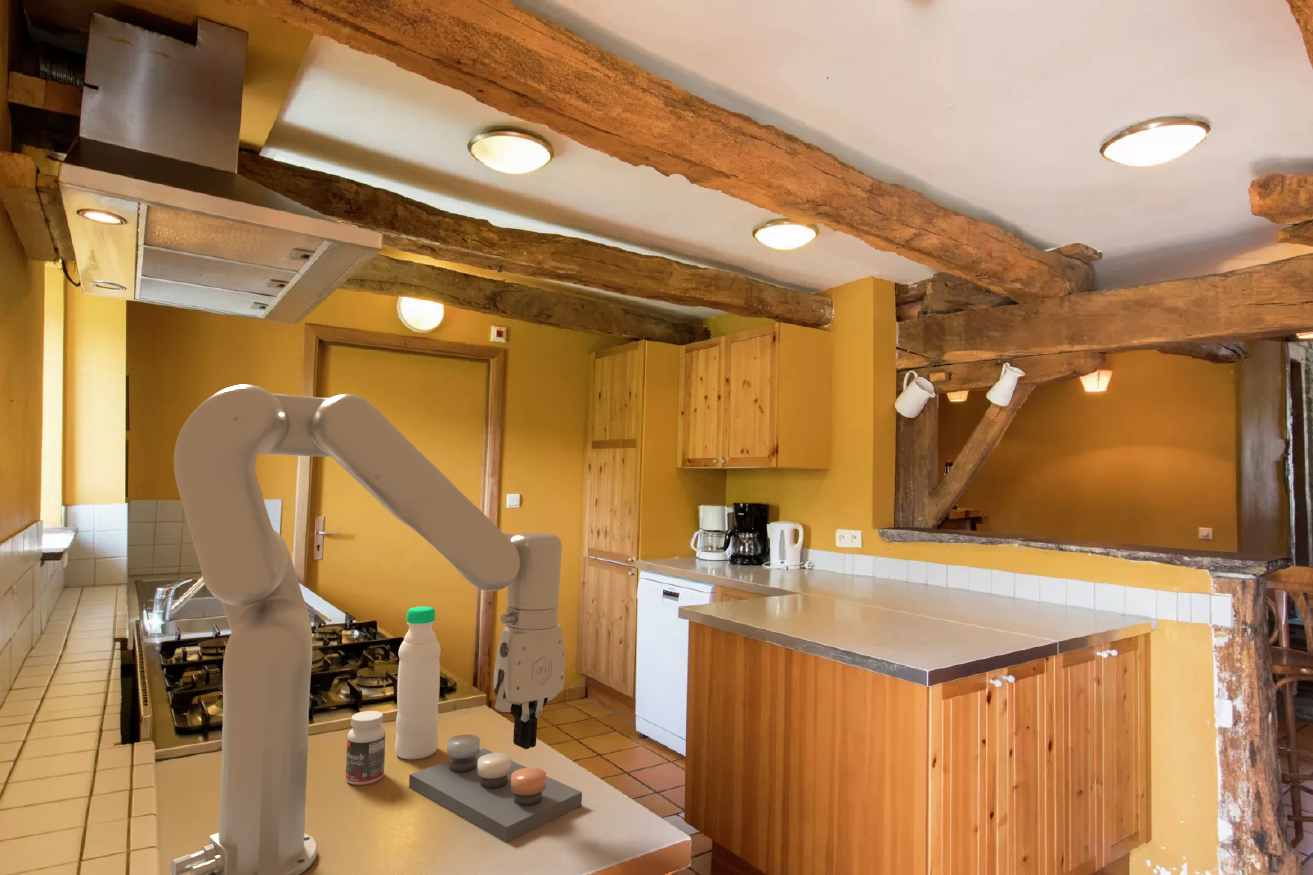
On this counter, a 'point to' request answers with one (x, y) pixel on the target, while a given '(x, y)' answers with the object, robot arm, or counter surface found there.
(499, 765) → the white button
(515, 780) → the terracotta button
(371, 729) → the pill bottle
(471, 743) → the bluegrey button
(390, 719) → the counter surface
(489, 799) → the button panel
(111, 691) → the counter surface
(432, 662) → the water bottle
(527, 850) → the counter surface
